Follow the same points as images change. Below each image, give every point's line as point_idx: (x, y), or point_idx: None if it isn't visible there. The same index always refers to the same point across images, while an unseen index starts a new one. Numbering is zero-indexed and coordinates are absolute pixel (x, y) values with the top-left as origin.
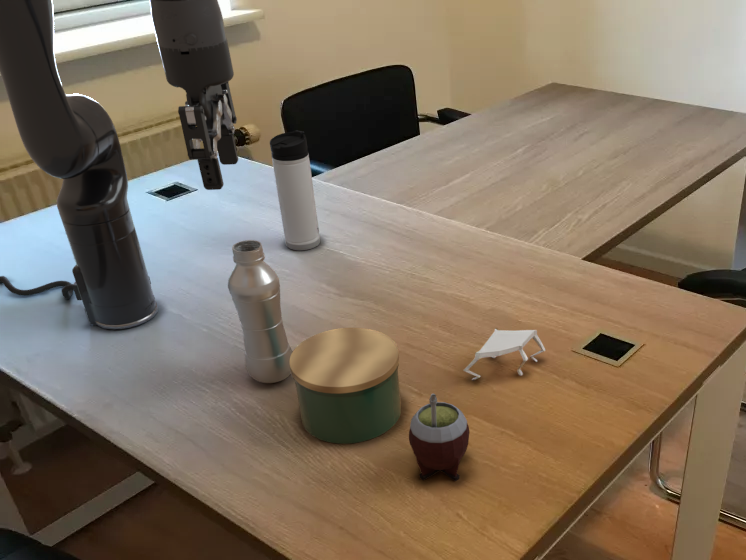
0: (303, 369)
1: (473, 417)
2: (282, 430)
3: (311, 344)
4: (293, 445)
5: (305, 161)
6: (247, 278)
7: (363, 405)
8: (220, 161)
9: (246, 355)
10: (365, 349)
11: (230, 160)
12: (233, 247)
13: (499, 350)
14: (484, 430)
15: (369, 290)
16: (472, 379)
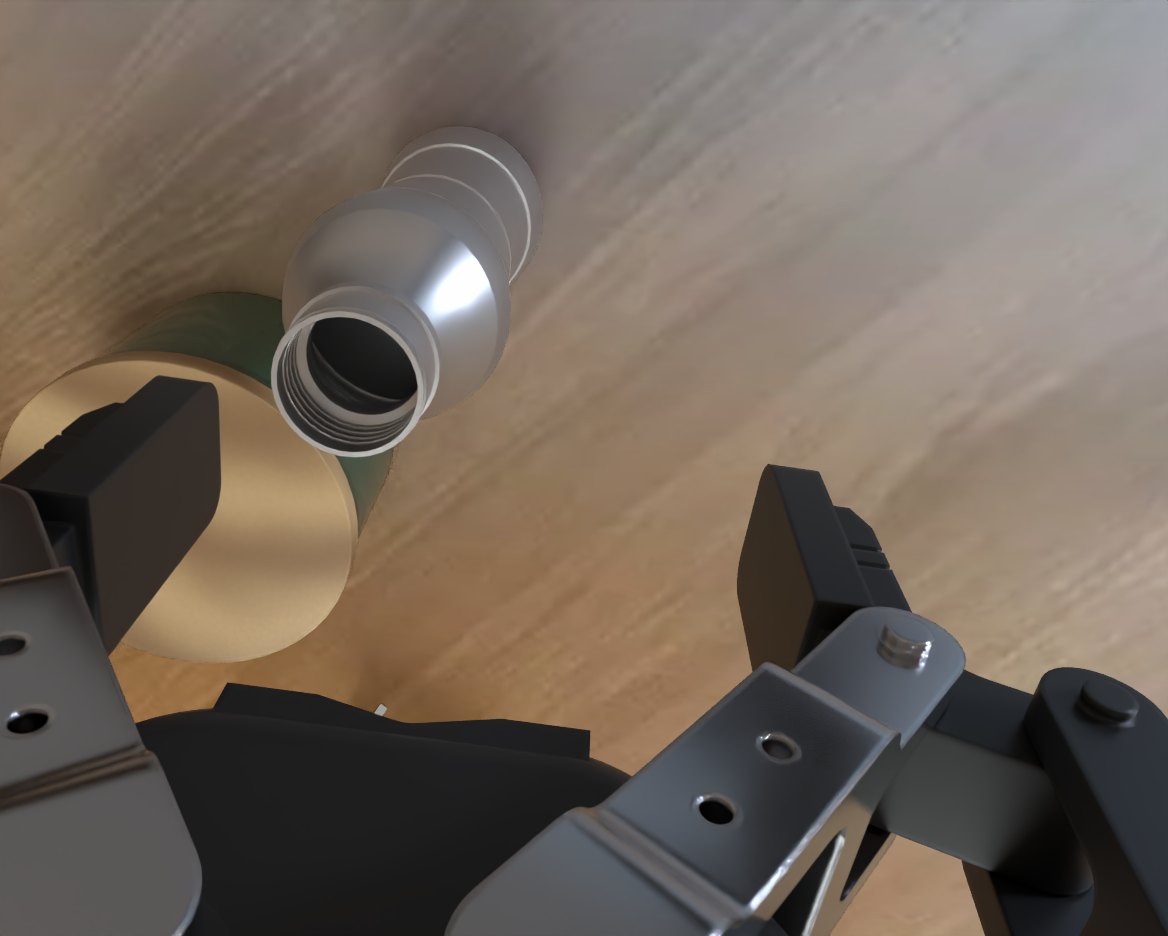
0: (90, 404)
1: (226, 682)
2: (175, 236)
3: (245, 432)
4: (106, 267)
5: None
6: (292, 320)
7: None
8: (769, 470)
9: (413, 152)
10: (211, 583)
11: (750, 551)
12: (343, 316)
13: None
14: (176, 694)
15: (950, 522)
16: (379, 706)
